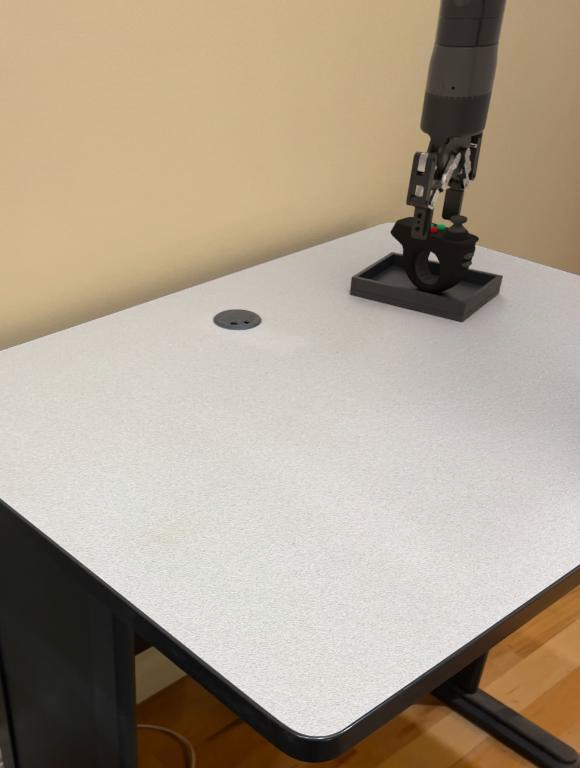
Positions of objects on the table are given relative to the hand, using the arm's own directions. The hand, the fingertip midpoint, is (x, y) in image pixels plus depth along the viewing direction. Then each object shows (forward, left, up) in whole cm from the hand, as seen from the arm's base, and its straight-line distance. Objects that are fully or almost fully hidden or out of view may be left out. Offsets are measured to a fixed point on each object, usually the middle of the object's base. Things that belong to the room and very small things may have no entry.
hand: (435, 228), depth 115 cm
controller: (0, 0, -8) cm, 8 cm away
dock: (0, 0, -9) cm, 9 cm away
